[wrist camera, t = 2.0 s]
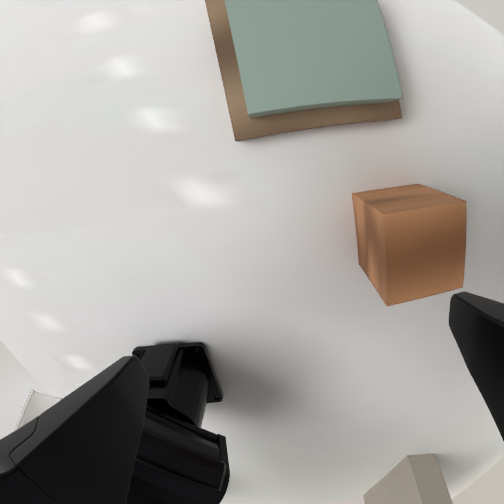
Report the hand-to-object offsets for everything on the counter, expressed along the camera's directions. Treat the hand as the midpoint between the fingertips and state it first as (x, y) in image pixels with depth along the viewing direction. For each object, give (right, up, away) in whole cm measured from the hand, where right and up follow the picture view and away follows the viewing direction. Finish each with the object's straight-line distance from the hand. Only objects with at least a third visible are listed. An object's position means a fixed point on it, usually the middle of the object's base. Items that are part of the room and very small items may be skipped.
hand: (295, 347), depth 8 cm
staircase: (+20, -29, +24) cm, 42 cm away
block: (+8, +4, +12) cm, 15 cm away
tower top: (+2, +14, +7) cm, 16 cm away
